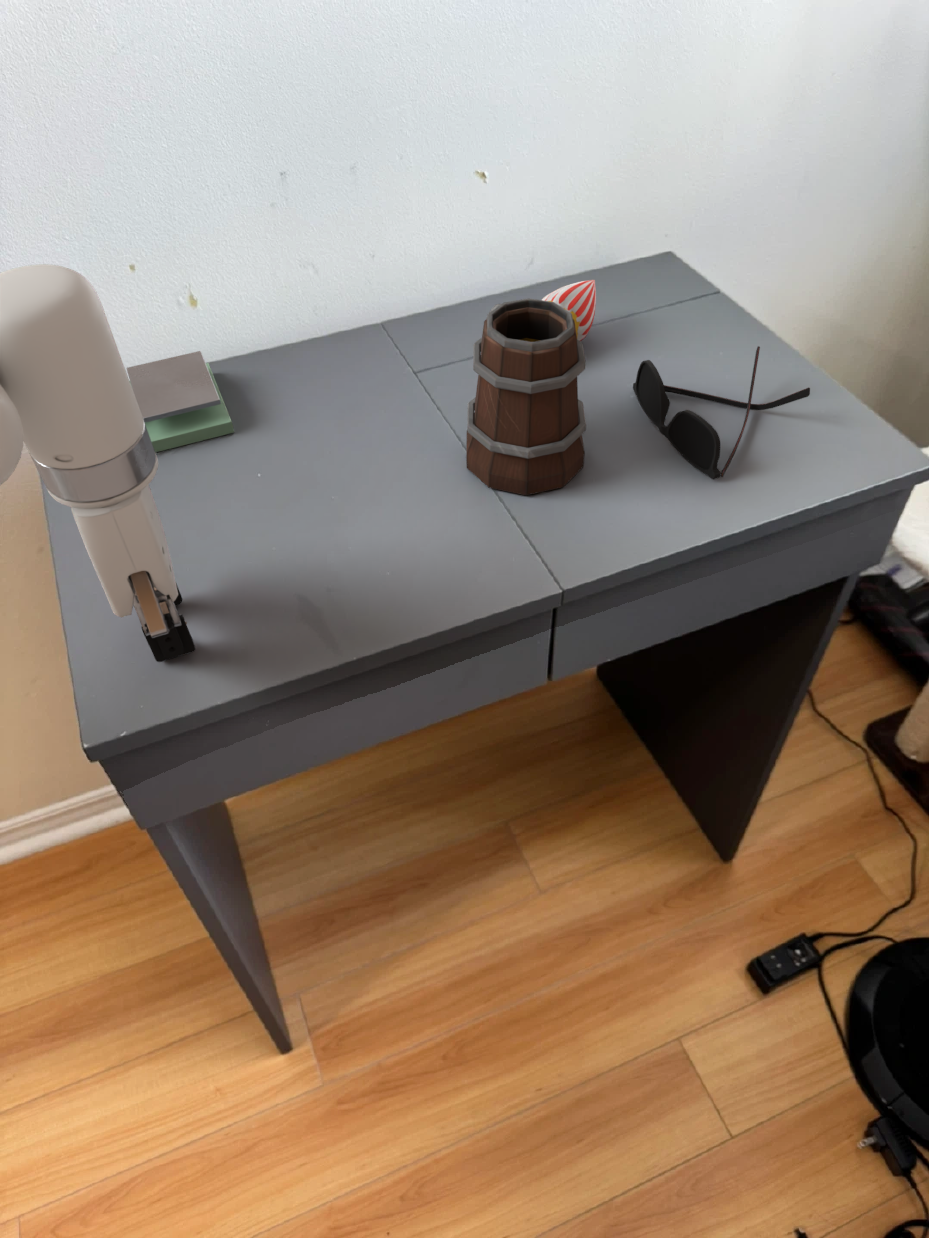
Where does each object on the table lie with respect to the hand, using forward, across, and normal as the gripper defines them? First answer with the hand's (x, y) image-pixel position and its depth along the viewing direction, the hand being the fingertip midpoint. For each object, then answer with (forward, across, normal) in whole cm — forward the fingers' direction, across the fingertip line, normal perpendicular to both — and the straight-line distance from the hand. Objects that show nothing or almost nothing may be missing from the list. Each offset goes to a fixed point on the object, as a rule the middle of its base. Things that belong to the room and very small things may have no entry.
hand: (169, 628), depth 73 cm
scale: (0, -31, +4) cm, 31 cm away
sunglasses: (+1, -6, +58) cm, 58 cm away
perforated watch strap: (+1, 0, 0) cm, 1 cm away
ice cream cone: (+1, -25, +47) cm, 53 cm away
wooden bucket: (+1, -11, +37) cm, 39 cm away
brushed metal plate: (-3, -31, +6) cm, 32 cm away
